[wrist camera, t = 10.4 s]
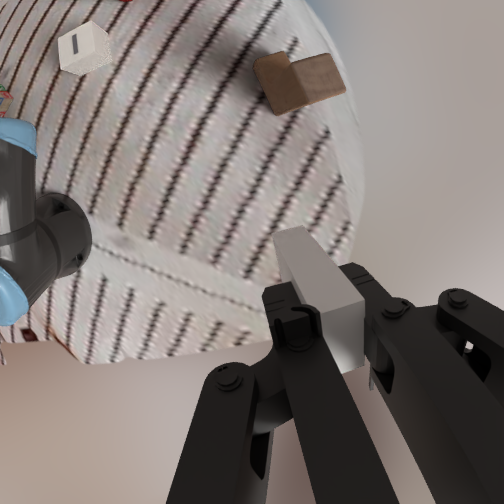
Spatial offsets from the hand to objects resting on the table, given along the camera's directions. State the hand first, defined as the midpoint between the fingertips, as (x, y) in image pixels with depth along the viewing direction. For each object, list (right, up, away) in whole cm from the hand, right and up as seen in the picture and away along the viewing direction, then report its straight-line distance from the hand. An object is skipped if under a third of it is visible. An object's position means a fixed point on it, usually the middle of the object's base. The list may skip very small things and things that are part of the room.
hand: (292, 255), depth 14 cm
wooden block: (+2, +25, +25) cm, 35 cm away
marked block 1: (-28, +32, +19) cm, 46 cm away
